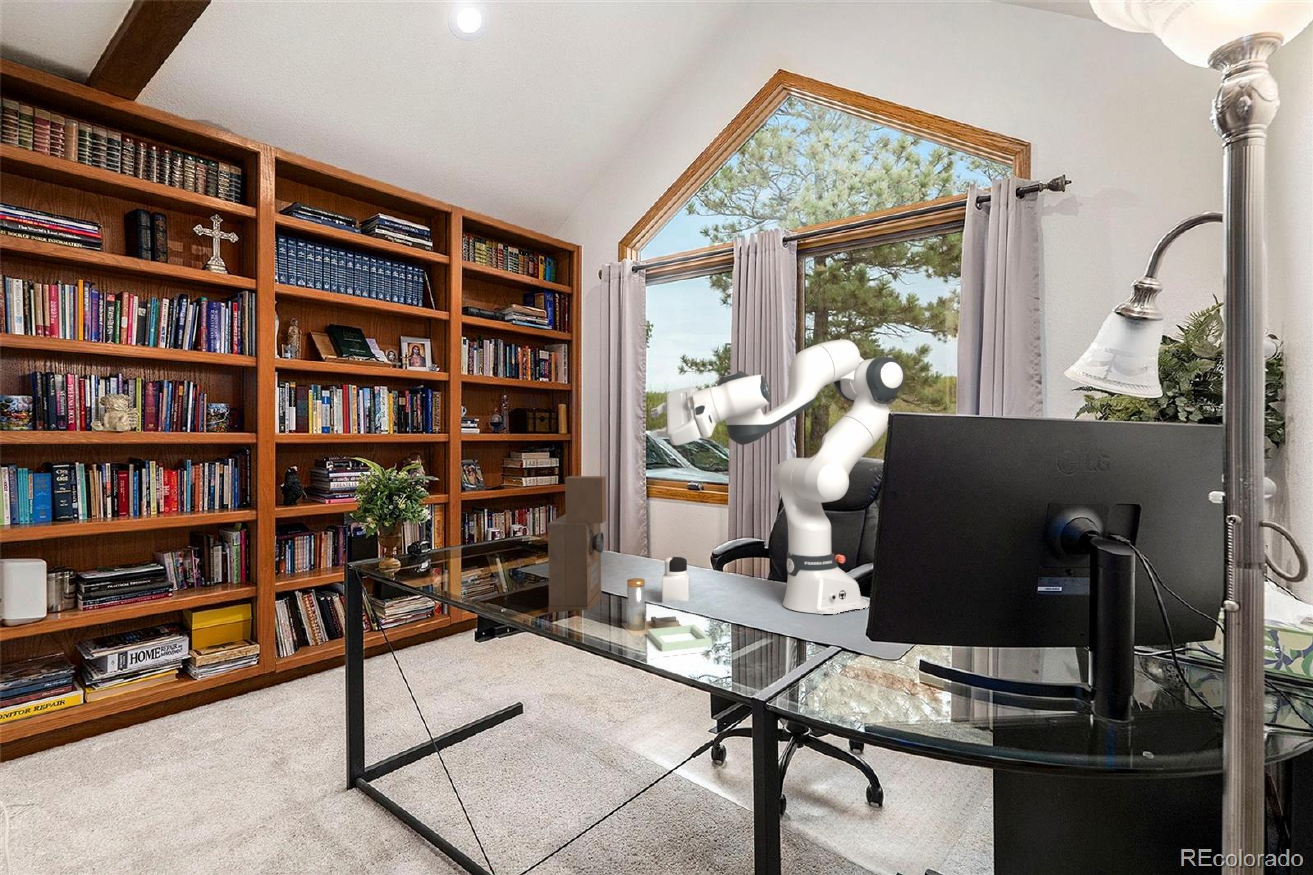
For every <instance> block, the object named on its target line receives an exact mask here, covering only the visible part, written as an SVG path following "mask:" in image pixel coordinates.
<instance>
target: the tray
mask: <svg viewBox="0 0 1313 875" xmlns="http://www.w3.org/2000/svg"><path fill="white" fill-rule="evenodd" d="M683 634H692V635H694V636H695V637H696V639H688V640H679V641H669V642H665V641H664V640H663V639H662V638H661V637H664V636H673V635H683ZM647 637H648V638H649V639H650V640H651V641H652V642H653V644H655V646H656V647H657V648H658V649H659V651H661V652H662V653H663V652H670V651H679V650H688V649H689V650H690V649H696V648H697V649H698V648H707V647H712V646H713V641H712V640H713V639H712V638H711V637H710V636H708V635H707V634H706V633H705V632H703V631H702V630H701V629H700V628H699V627H697V626H696V625H695V624H688V625H687V624H686V625H681V626H677V627H667V628H657V629H648V634H647ZM709 652H710V653H711V652H712V650H711V651H708V653H709ZM693 654H696V652H693V653H691V655H693ZM700 654H704V651H702V652H700ZM686 655H687V653H686V654H685V653H684V654H682V656H686ZM676 656H678V655H677V654H675V655H673V657H676ZM666 657H667V658H668V657H669V655H667V656H664V658H666Z"/></svg>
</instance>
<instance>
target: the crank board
mask: <svg viewBox="0 0 1313 875" xmlns="http://www.w3.org/2000/svg"><path fill="white" fill-rule="evenodd" d="M620 625H622V626H623V628H624V629H625V630H626V632H627V633H628V634H629V635H630V637H634V636H635V637H636V636H648V629H657V628H667V627H677V626H682V624H681V623H680V621H679V620H678V619H677V617H676V616H675V615H674V616H663V617H656V616H651V617H650V620H645V629H644V630H641V631H631V630H628V622H622V623H621V622H620Z"/></svg>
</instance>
